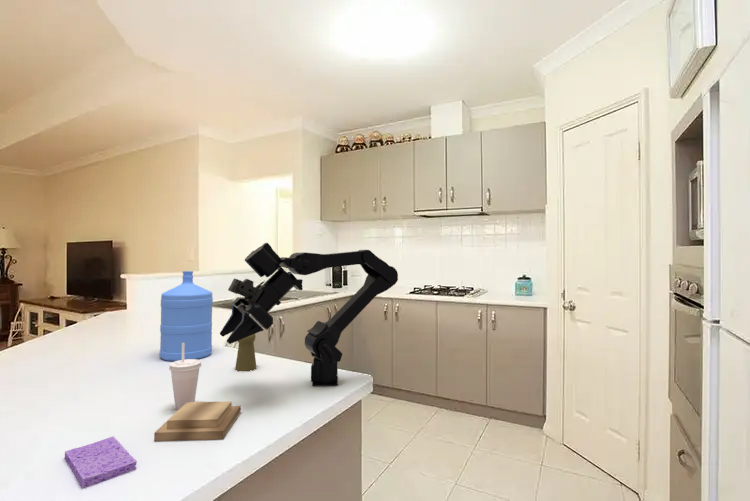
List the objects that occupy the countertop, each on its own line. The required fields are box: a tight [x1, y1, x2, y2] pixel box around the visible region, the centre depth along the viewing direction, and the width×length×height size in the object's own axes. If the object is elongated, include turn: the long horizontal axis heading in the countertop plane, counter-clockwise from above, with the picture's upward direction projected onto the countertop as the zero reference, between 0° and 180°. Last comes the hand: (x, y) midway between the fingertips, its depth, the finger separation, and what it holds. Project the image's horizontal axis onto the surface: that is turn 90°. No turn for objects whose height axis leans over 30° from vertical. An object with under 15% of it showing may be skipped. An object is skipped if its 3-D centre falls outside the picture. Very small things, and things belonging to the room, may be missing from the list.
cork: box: [234, 333, 257, 372], centre depth 115 cm, size 6×6×11 cm
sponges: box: [64, 435, 138, 489], centre depth 62 cm, size 7×13×2 cm, turn 48°
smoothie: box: [168, 343, 202, 411], centre depth 86 cm, size 6×6×14 cm
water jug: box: [159, 270, 214, 362], centre depth 129 cm, size 16×16×28 cm
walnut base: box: [153, 400, 242, 442], centre depth 76 cm, size 12×12×3 cm
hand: (224, 338), depth 90 cm, fingers open, 9 cm apart
